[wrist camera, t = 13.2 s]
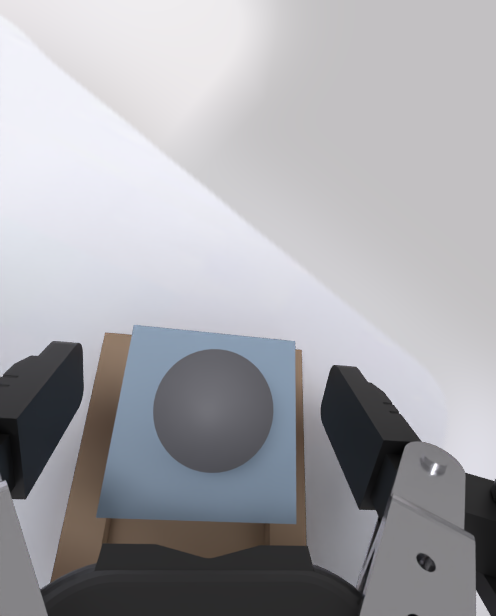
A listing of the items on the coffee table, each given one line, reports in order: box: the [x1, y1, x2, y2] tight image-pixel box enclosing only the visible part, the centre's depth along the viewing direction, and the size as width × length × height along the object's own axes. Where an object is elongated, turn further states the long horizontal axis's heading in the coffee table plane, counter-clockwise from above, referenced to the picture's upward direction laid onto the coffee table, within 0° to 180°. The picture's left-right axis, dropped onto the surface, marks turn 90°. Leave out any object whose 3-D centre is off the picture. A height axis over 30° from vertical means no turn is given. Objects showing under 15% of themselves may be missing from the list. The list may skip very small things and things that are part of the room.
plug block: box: [96, 325, 296, 524], centre depth 12 cm, size 5×5×10 cm
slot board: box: [50, 333, 306, 583], centre depth 17 cm, size 10×10×2 cm
